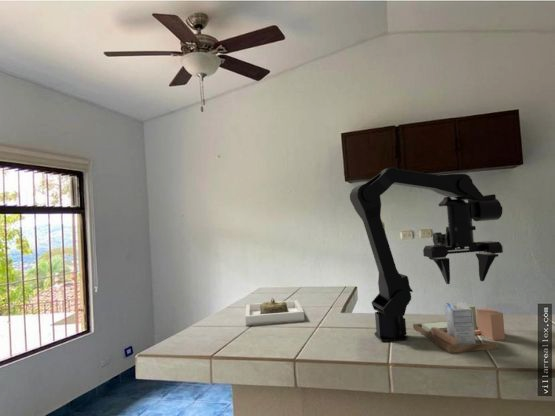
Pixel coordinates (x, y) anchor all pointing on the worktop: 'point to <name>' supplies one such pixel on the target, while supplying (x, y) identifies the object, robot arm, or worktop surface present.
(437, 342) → the lane rails
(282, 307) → the cake
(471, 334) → the medicine box
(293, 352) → the worktop surface
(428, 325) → the sage green stepped block
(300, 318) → the white ceramic dish
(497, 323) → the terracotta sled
